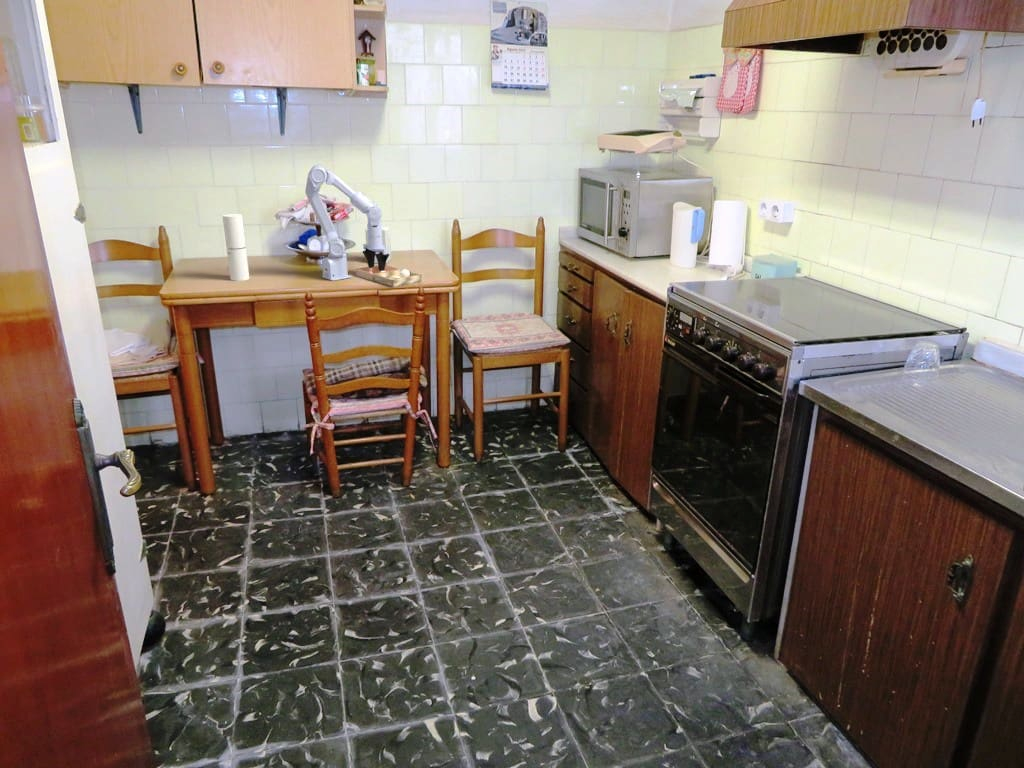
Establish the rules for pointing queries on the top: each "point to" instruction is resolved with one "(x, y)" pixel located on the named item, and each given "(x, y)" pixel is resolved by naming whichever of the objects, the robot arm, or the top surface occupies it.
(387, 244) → the supplement box
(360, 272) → the peach open box
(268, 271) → the top surface
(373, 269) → the terracotta ball
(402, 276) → the cream ball
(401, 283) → the box
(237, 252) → the cylindrical container
